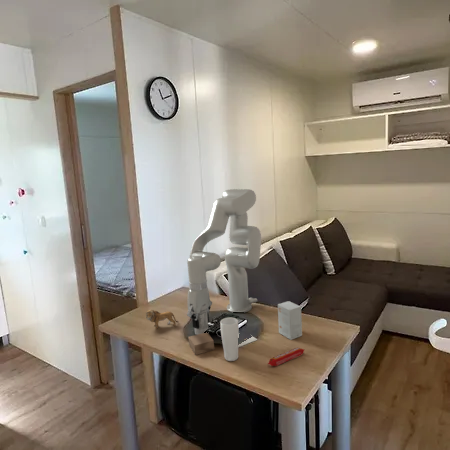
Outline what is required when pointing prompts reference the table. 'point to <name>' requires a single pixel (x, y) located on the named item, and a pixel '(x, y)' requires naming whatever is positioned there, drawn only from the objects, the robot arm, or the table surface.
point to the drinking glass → (230, 338)
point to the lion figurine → (159, 317)
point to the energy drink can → (202, 320)
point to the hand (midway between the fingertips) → (201, 324)
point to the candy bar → (286, 356)
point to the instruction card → (247, 341)
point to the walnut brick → (201, 343)
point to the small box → (290, 320)
